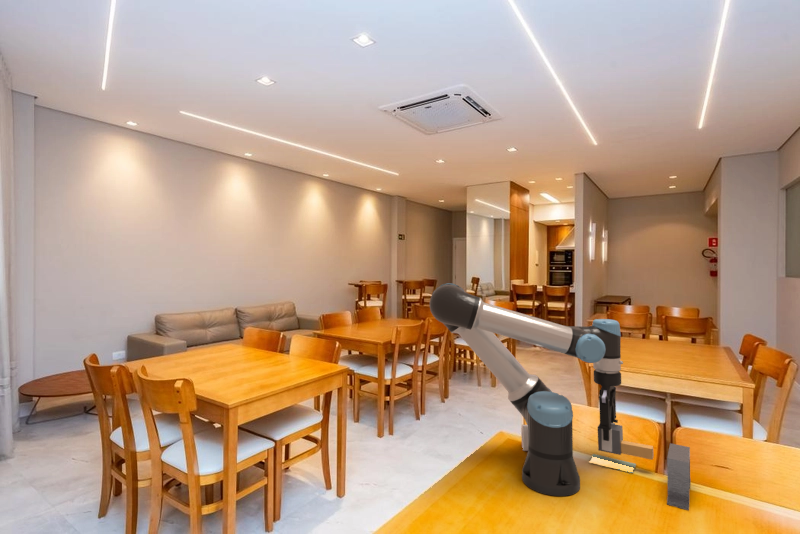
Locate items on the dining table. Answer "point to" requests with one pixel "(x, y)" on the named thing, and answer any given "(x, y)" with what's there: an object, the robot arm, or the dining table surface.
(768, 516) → the dining table surface
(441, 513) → the dining table surface
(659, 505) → the dining table surface
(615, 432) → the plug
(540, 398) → the robot arm
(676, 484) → the housing
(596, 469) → the dining table surface
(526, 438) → the mug
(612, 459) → the pad
